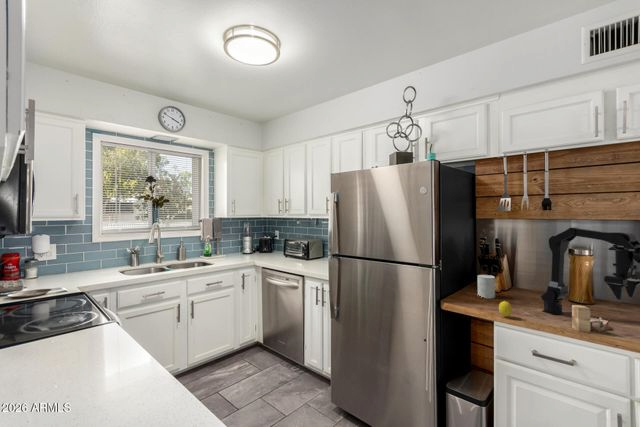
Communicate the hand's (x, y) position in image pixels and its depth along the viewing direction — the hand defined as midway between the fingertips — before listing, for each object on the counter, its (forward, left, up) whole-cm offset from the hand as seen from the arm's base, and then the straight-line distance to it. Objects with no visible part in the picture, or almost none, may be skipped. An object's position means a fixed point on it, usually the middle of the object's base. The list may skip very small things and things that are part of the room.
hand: (625, 298), depth 127 cm
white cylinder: (-63, -4, -15) cm, 65 cm away
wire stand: (-8, -4, -15) cm, 17 cm away
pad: (-12, +5, -15) cm, 20 cm away
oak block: (-9, -13, -15) cm, 22 cm away
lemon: (-33, -28, -15) cm, 46 cm away
